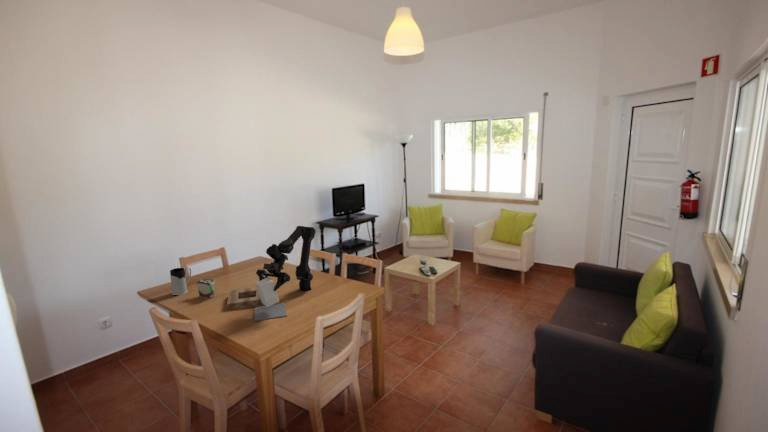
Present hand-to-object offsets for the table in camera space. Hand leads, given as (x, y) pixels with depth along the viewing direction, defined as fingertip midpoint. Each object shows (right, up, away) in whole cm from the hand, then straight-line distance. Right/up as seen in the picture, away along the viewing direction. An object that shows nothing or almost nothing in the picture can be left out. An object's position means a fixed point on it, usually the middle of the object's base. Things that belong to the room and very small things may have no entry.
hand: (266, 289), depth 189 cm
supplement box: (+1, -7, +3) cm, 8 cm away
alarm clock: (-43, -9, +26) cm, 51 cm away
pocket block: (-18, -10, +19) cm, 28 cm away
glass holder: (-63, -8, +33) cm, 71 cm away
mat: (+1, -13, +4) cm, 13 cm away
